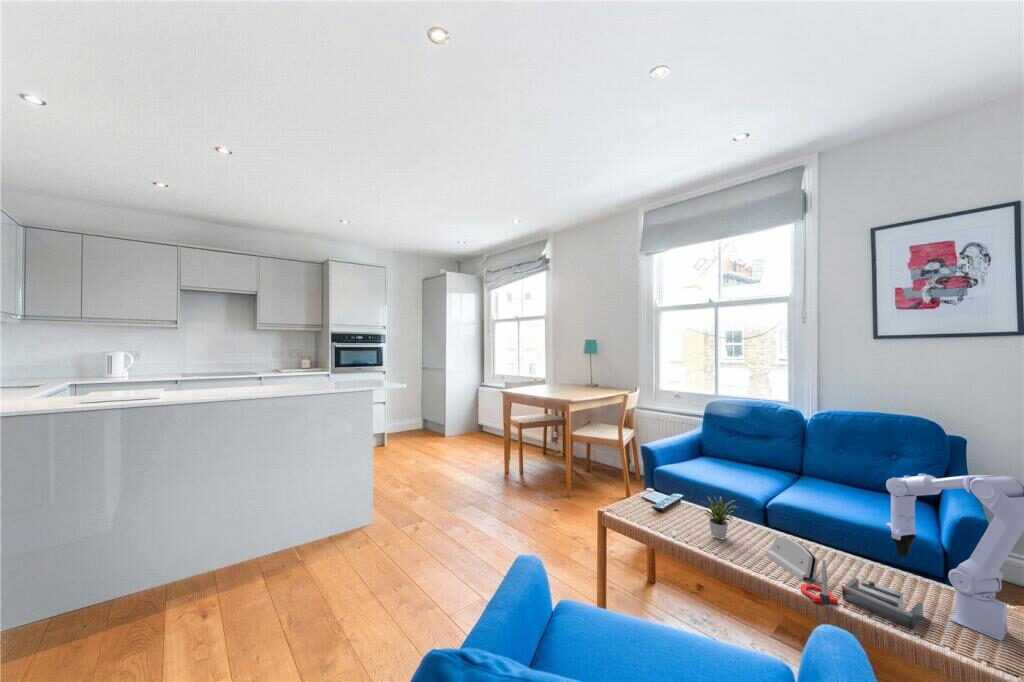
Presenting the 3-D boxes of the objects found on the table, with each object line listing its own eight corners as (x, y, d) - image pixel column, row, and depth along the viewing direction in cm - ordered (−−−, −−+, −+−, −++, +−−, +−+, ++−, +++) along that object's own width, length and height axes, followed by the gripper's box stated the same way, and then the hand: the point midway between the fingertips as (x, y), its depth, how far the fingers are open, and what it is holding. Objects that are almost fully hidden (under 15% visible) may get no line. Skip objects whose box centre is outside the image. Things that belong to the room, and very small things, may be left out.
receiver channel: (923, 616, 119) (922, 601, 119) (911, 629, 113) (911, 614, 113) (854, 588, 132) (854, 575, 132) (841, 599, 127) (841, 585, 127)
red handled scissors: (795, 586, 134) (811, 603, 125) (794, 546, 135) (810, 560, 125) (823, 589, 133) (841, 606, 123) (822, 549, 133) (840, 562, 124)
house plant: (747, 538, 166) (747, 498, 166) (733, 549, 157) (733, 507, 157) (711, 526, 177) (711, 488, 177) (697, 535, 168) (697, 496, 168)
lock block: (903, 610, 122) (903, 591, 122) (898, 619, 118) (898, 600, 118) (864, 595, 129) (864, 577, 129) (858, 604, 125) (858, 585, 125)
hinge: (765, 555, 153) (773, 529, 153) (775, 558, 153) (783, 533, 154) (802, 581, 136) (811, 552, 137) (814, 584, 137) (822, 556, 137)
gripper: (893, 505, 141) (894, 544, 141) (879, 515, 134) (879, 556, 133) (922, 512, 135) (922, 553, 135) (908, 523, 128) (908, 566, 127)
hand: (902, 555), depth 134 cm, fingers closed
